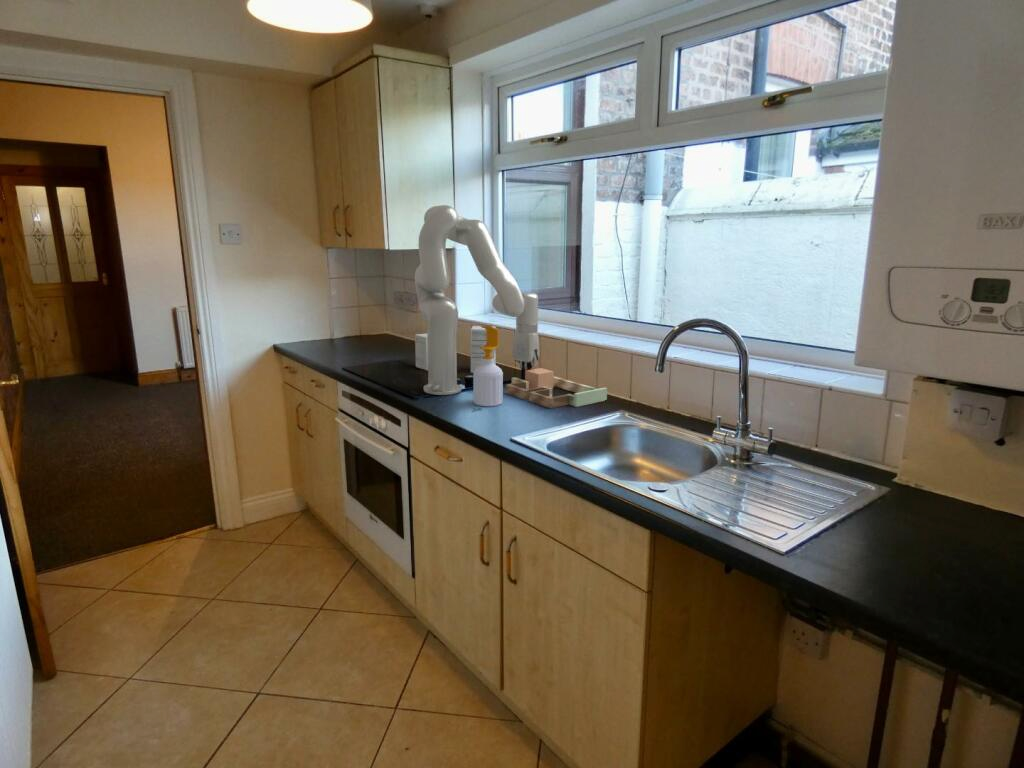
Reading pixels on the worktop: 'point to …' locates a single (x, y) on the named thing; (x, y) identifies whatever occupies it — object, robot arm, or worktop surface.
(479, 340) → the supplement box
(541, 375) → the block
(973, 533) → the worktop surface
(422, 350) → the small box
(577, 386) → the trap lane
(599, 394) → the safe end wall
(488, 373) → the soap bottle
